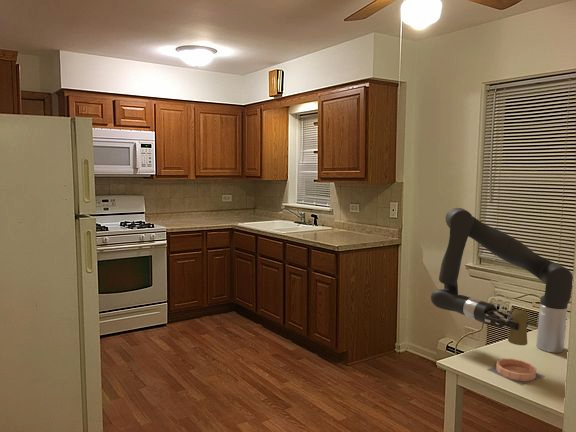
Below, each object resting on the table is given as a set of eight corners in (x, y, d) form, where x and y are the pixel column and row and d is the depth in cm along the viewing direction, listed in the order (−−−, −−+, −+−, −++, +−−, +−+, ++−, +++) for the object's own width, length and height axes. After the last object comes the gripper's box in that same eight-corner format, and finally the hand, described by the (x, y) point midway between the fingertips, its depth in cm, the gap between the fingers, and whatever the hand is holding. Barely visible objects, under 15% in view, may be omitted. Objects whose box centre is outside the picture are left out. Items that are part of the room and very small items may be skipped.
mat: (510, 362, 173) (510, 361, 173) (544, 377, 162) (545, 376, 162) (486, 370, 166) (487, 369, 166) (521, 386, 155) (521, 385, 155)
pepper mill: (529, 346, 159) (532, 314, 158) (510, 344, 160) (513, 312, 159) (524, 339, 165) (527, 308, 164) (505, 337, 166) (508, 307, 165)
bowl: (510, 362, 172) (511, 355, 172) (543, 376, 162) (543, 369, 162) (488, 369, 166) (489, 363, 166) (521, 384, 156) (521, 377, 156)
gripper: (467, 303, 171) (510, 318, 157) (492, 298, 178) (536, 312, 164) (465, 323, 172) (508, 340, 158) (491, 317, 180) (534, 332, 165)
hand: (522, 326), depth 161 cm, fingers closed on pepper mill, 4 cm apart
